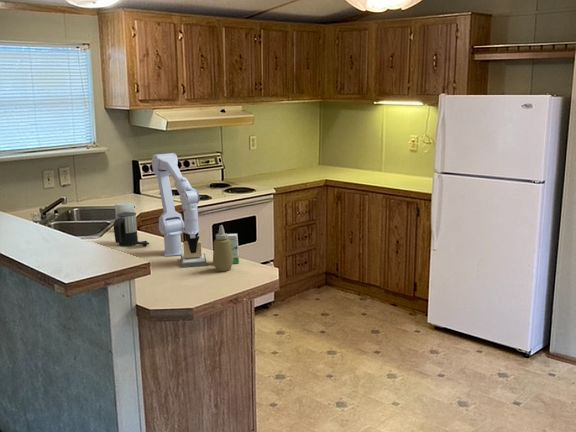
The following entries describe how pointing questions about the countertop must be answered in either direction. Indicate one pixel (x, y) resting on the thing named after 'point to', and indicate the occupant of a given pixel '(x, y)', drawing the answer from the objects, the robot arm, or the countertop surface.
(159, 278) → the countertop surface
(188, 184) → the robot arm
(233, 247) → the ink box
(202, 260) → the grey picture frame
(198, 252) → the carton
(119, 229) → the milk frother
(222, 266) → the squeeze bottle
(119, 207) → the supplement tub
